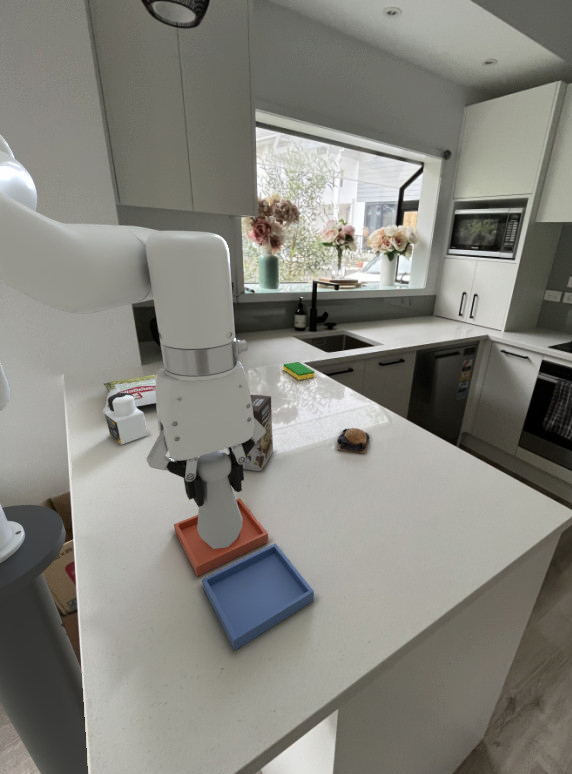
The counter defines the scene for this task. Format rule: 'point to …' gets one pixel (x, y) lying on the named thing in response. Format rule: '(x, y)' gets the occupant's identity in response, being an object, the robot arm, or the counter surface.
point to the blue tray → (256, 594)
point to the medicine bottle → (125, 418)
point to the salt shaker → (217, 502)
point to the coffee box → (265, 443)
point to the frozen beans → (134, 390)
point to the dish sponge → (298, 370)
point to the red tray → (210, 558)
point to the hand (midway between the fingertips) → (216, 491)
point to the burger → (353, 440)
